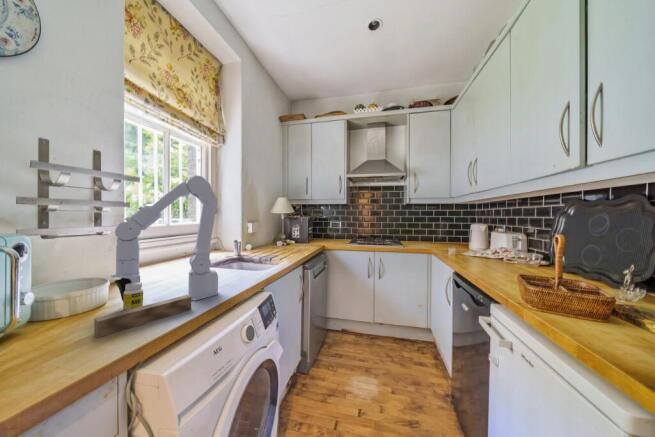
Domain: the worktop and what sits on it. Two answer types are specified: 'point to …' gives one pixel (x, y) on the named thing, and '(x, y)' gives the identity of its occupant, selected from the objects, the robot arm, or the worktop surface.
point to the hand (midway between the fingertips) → (127, 301)
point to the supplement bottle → (133, 296)
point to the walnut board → (140, 315)
